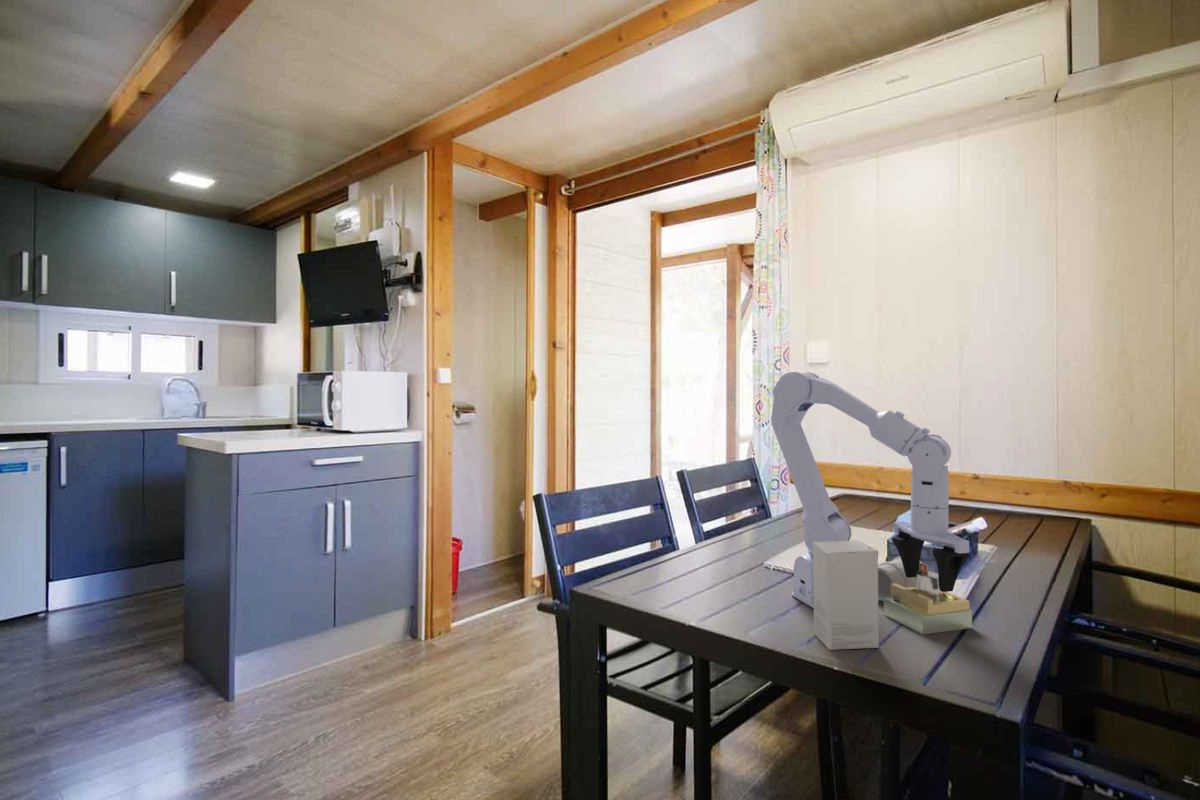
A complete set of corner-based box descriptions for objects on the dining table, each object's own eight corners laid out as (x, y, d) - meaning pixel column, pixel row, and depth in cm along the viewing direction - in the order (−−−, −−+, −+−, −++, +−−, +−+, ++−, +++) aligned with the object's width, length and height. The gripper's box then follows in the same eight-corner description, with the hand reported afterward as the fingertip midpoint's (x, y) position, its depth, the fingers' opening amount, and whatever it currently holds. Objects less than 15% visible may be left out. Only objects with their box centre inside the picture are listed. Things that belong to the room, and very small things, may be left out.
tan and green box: (922, 634, 98) (922, 601, 98) (883, 614, 107) (883, 583, 107) (971, 628, 101) (972, 595, 101) (929, 609, 109) (930, 579, 109)
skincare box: (861, 633, 99) (861, 539, 99) (881, 650, 92) (881, 550, 92) (811, 633, 99) (811, 540, 98) (827, 651, 92) (828, 550, 92)
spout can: (948, 606, 102) (948, 568, 102) (929, 608, 101) (929, 570, 101) (929, 598, 106) (929, 562, 106) (911, 600, 105) (911, 564, 105)
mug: (938, 591, 113) (897, 605, 108) (887, 597, 123) (847, 611, 117) (922, 551, 116) (882, 563, 110) (873, 560, 125) (834, 571, 120)
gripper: (984, 513, 98) (983, 595, 98) (916, 497, 112) (915, 569, 112) (949, 515, 96) (948, 599, 96) (884, 498, 110) (883, 572, 110)
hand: (928, 583), depth 104 cm, fingers open, 7 cm apart
